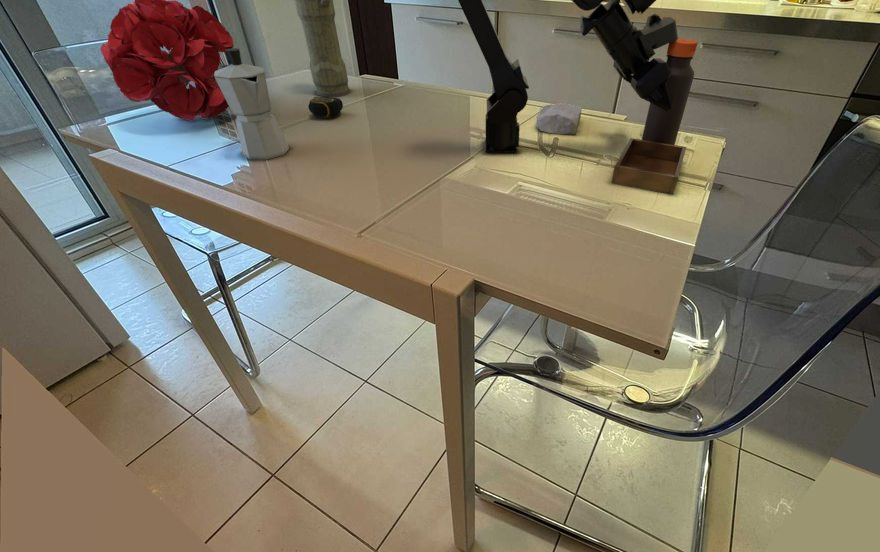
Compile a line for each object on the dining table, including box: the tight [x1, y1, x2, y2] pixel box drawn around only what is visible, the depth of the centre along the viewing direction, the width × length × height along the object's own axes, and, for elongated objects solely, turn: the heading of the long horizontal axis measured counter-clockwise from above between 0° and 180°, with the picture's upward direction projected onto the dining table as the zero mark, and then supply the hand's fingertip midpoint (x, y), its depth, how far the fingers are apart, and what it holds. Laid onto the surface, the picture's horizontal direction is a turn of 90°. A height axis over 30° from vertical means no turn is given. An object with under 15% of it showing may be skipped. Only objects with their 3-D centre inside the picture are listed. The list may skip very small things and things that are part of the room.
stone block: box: [536, 102, 583, 135], centre depth 103 cm, size 12×5×10 cm
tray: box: [611, 137, 687, 195], centre depth 84 cm, size 11×15×3 cm
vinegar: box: [641, 37, 699, 145], centre depth 87 cm, size 7×7×20 cm
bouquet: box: [99, 0, 235, 122], centre depth 99 cm, size 22×24×30 cm
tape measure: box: [308, 96, 344, 119], centre depth 104 cm, size 7×7×4 cm
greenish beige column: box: [294, 0, 350, 98], centre depth 109 cm, size 9×12×35 cm
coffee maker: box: [214, 47, 290, 161], centre depth 83 cm, size 15×9×18 cm, turn 47°
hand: (661, 102), depth 88 cm, fingers open, 9 cm apart
